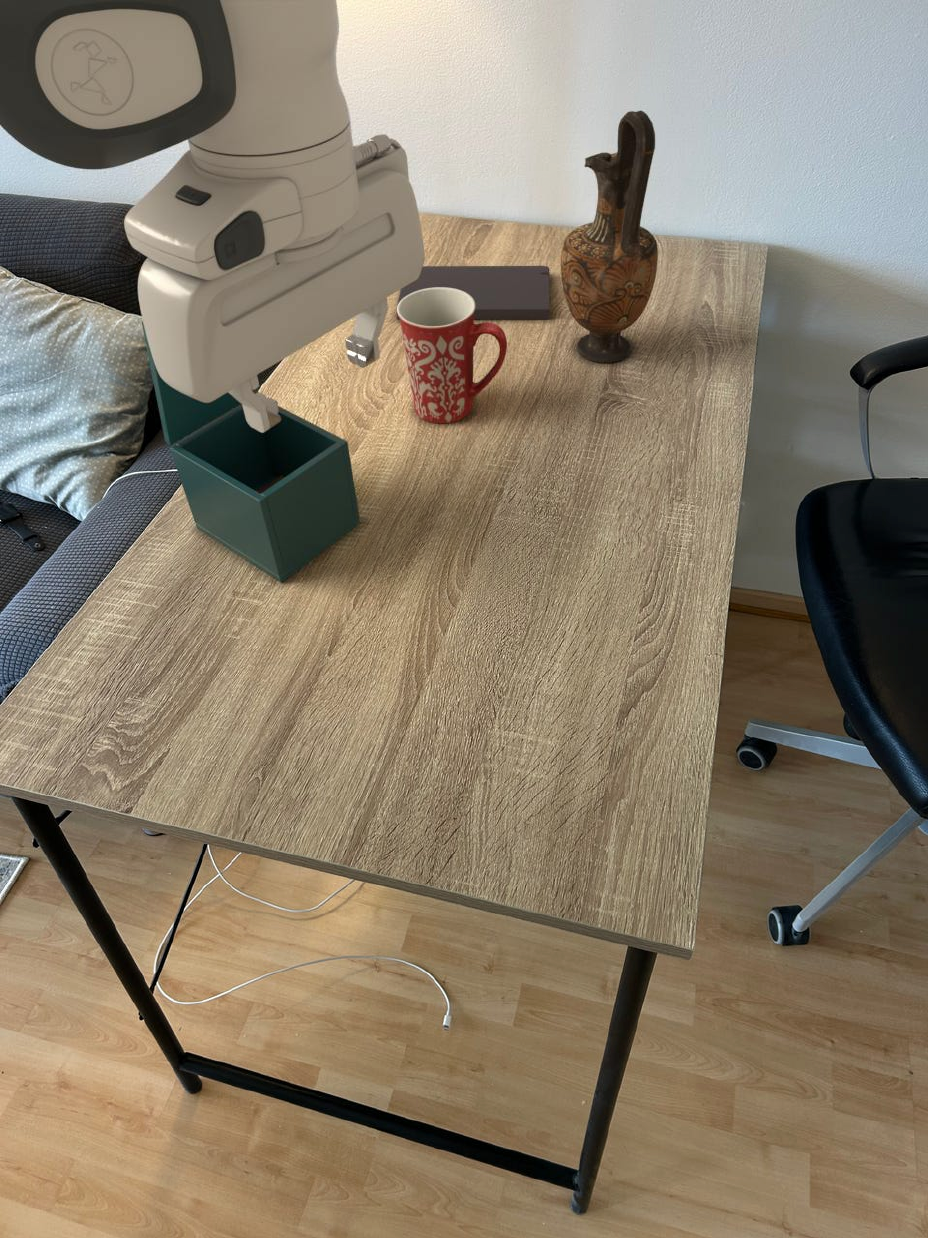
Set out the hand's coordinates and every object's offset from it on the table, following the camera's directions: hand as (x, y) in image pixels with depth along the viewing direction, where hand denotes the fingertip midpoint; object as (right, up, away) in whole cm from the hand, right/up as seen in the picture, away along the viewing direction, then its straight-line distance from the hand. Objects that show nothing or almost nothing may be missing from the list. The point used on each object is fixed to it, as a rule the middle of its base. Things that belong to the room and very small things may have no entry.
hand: (316, 391), depth 61 cm
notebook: (+12, +31, +69) cm, 76 cm away
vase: (+28, +20, +58) cm, 67 cm away
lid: (-14, +9, +25) cm, 30 cm away
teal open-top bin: (-10, -5, +36) cm, 38 cm away
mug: (+9, +10, +50) cm, 52 cm away
